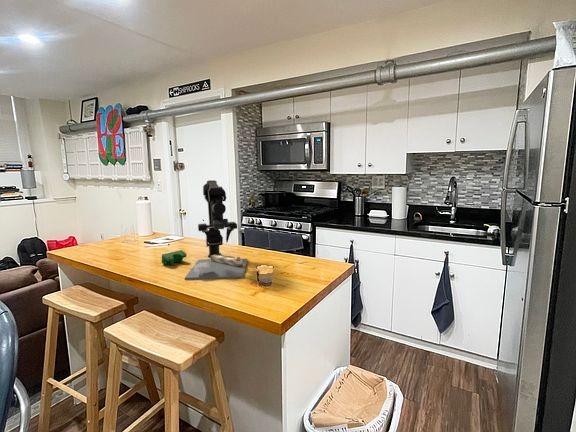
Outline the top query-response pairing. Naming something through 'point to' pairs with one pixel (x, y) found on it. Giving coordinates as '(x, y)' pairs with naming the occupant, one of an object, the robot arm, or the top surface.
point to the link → (227, 260)
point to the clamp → (173, 257)
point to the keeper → (200, 266)
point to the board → (219, 271)
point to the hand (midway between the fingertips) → (218, 243)
